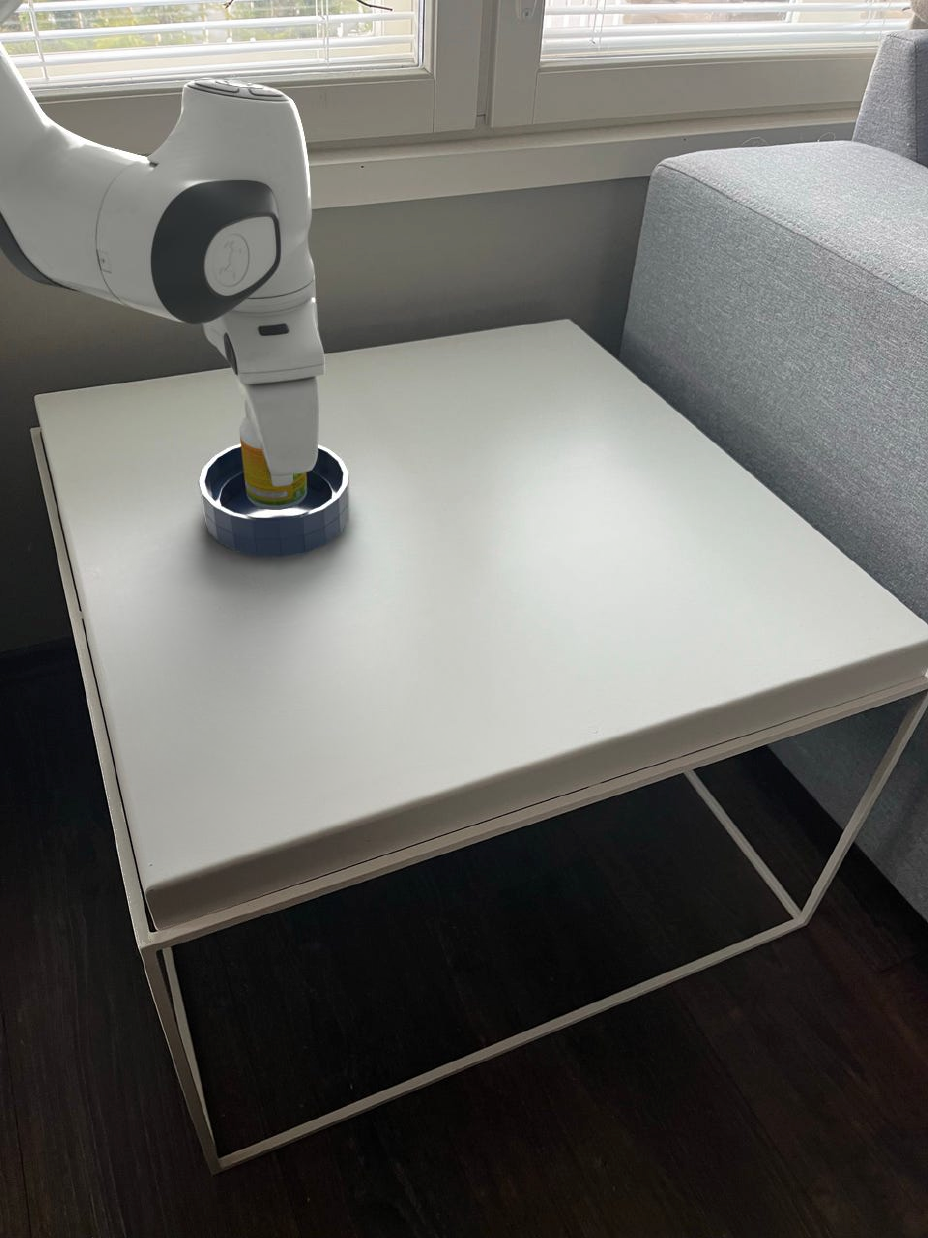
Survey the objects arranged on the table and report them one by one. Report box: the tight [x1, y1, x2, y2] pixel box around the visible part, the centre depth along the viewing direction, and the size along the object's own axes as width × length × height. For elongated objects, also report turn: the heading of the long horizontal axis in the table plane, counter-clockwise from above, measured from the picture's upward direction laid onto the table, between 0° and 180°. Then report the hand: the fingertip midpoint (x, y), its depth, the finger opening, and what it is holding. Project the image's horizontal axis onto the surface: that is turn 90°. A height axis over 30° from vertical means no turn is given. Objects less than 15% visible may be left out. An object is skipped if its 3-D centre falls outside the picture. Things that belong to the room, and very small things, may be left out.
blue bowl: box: [198, 443, 351, 558], centre depth 88 cm, size 13×13×4 cm
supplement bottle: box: [239, 399, 307, 510], centre depth 84 cm, size 5×5×10 cm
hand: (273, 460), depth 85 cm, fingers closed on supplement bottle, 5 cm apart
